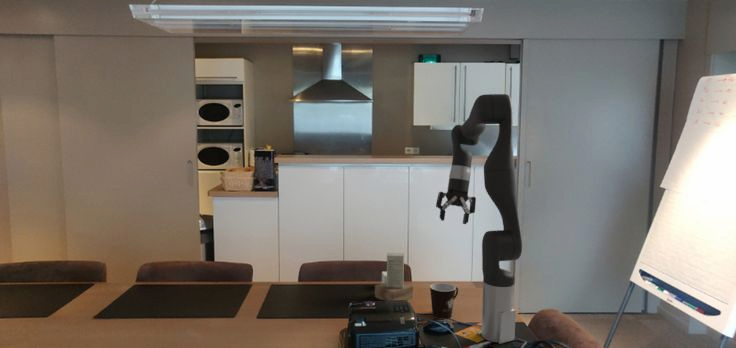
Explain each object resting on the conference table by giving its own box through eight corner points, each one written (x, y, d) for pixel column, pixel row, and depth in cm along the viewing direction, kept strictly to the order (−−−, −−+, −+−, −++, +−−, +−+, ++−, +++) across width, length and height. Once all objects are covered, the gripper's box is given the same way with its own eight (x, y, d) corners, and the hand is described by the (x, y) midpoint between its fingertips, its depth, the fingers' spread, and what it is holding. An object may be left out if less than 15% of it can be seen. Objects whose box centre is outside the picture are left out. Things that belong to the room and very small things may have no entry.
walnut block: (412, 299, 186) (412, 286, 186) (393, 305, 180) (393, 292, 179) (393, 292, 194) (394, 280, 193) (374, 298, 187) (374, 285, 187)
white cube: (381, 286, 200) (381, 271, 200) (396, 285, 202) (396, 270, 201) (384, 291, 195) (385, 276, 194) (399, 290, 196) (400, 275, 195)
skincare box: (403, 284, 188) (404, 253, 187) (403, 288, 184) (404, 256, 182) (386, 283, 188) (387, 251, 187) (385, 287, 184) (387, 254, 183)
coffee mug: (435, 321, 165) (436, 292, 164) (425, 311, 174) (426, 284, 172) (467, 318, 168) (468, 289, 167) (456, 309, 177) (457, 281, 176)
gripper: (443, 175, 181) (437, 219, 179) (481, 181, 182) (475, 225, 181) (438, 176, 188) (432, 219, 187) (474, 182, 190) (468, 224, 189)
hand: (453, 222), depth 184 cm, fingers open, 8 cm apart
